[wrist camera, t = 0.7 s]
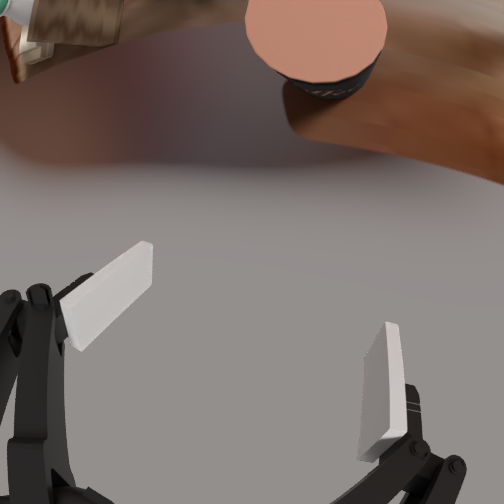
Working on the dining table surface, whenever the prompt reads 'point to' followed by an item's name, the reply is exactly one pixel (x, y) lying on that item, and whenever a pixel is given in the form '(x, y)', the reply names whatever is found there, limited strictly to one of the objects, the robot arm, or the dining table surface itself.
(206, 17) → the dining table surface
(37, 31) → the offcut rack
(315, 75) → the coffee jar
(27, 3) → the milk bottle
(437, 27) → the dining table surface
